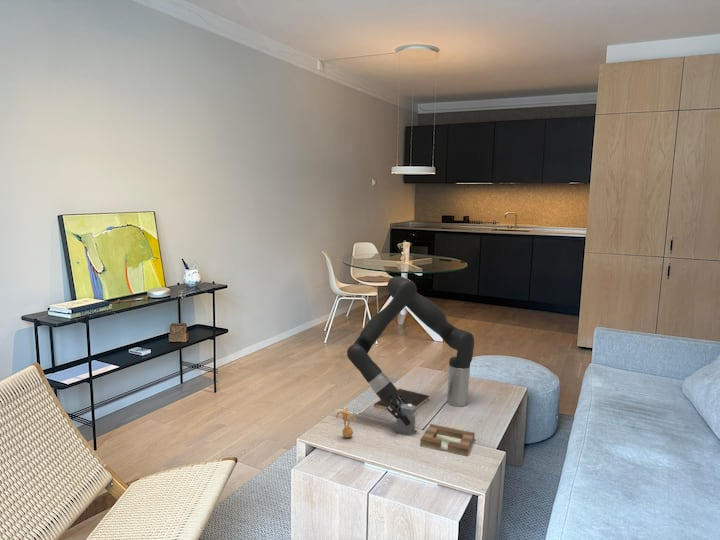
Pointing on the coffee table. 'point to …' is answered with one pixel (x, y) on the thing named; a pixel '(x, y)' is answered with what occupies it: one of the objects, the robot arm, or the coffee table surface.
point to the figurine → (347, 430)
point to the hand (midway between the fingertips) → (410, 422)
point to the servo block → (410, 414)
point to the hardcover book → (410, 398)
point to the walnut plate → (447, 439)
